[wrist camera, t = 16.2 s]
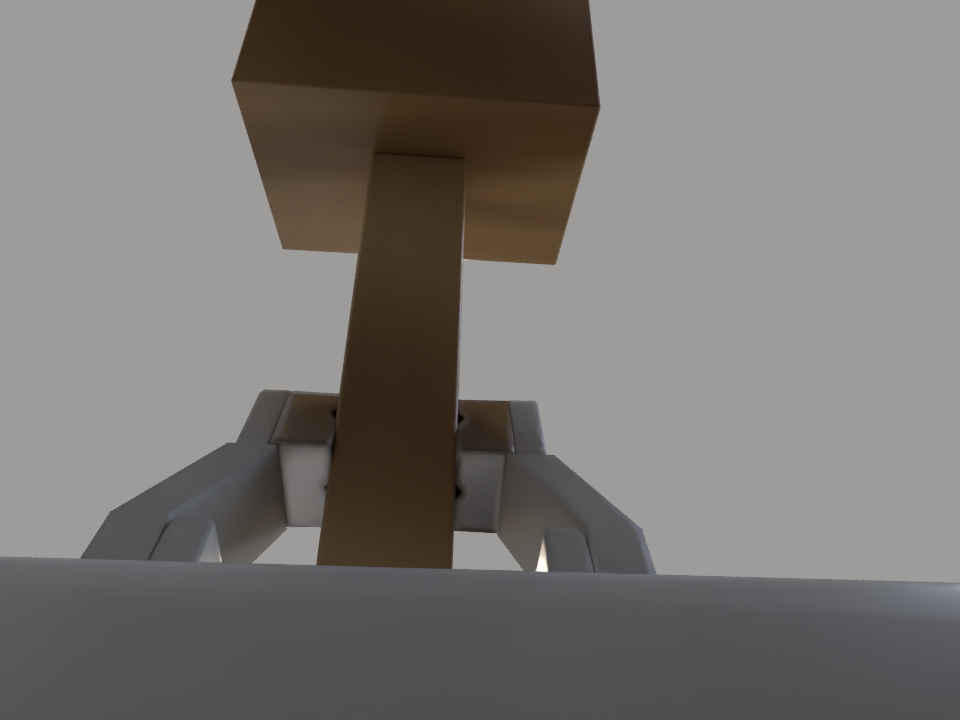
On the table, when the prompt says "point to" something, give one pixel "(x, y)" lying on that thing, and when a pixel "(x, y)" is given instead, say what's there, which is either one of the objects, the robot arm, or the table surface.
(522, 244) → the mallet
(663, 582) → the robot arm
